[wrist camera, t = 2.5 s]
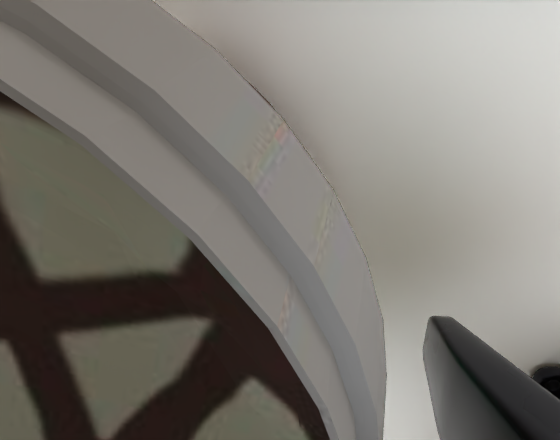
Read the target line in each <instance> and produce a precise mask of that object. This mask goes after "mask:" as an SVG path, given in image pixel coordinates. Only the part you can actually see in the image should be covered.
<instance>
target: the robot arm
mask: <svg viewBox="0 0 560 440" xmlns="http://www.w3.org/2000/svg"><path fill="white" fill-rule="evenodd" d="M423 360H424V365H425V370H426V375H427V380H428V385H429V390H430V395H431V400H432V405H433V410H434V415H435V420H436V425H437V429H438V433H439V437H440V440H560V367H544V368H542V369H539V370H538V371H537V372H535V374H534V376H533V378H530V377H529V376H528V375H526V374H525V373H524V372H523V371H521V370H520V369H519V368H517V367H516V366H515V365H513V364H512V363H511V362H509V361H508V360H507V359H506V358H504V357H503V356H502V355H500V354H499V353H498V352H496V351H495V350H494V349H493V348H491V347H490V346H489V345H487V344H486V343H485V342H483V341H482V340H481V339H479V338H478V337H477V336H476V335H474V334H473V333H472V332H470V331H469V330H468V329H466V328H465V327H464V326H462V325H461V324H460V323H459V322H457V321H456V320H455V319H453V318H452V317H446V316H432V317H430V318H429V320H428V324H427V329H426V334H425V340H424V345H423Z"/></svg>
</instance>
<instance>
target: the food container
mask: <svg viewBox="0 0 560 440" xmlns="http://www.w3.org/2000/svg"><path fill="white" fill-rule="evenodd" d="M386 378H387V373H386V358H385V342H384V327H383V318H382V314H381V311H380V307H379V303H378V300H377V296H376V292H375V289H374V285H373V281H372V277H371V274H370V270H369V266H368V263H367V259H366V257H365V254H364V252H363V250H362V248H361V246H360V244H359V242H358V240H357V238H356V236H355V234H354V232H353V229H352V227H351V225H350V223H349V221H348V219H347V217H346V215H345V213H344V211H343V209H342V207H341V205H340V202H339V200H338V198H337V196H336V194H335V192H334V190H333V189H332V187H331V186H330V184H329V183H328V182H327V180H326V179H325V177H324V176H323V175H322V173H321V172H320V170H319V169H318V167H317V166H316V165H315V163H314V162H313V160H312V159H311V158H310V156H309V155H308V153H307V152H306V150H305V149H304V148H303V146H302V145H301V143H300V142H299V141H298V139H297V138H296V136H295V135H294V133H293V132H292V131H291V129H290V128H289V126H288V125H287V124H286V122H285V121H284V119H283V118H282V117H281V116H280V115H279V114H278V113H277V112H276V111H275V110H274V108H273V107H272V106H271V104H270V103H269V102H268V101H267V100H266V99H265V98H264V97H263V96H262V95H261V94H260V93H259V92H258V91H257V90H256V89H255V88H254V87H253V86H252V85H251V84H250V83H248V82H247V81H246V80H245V79H244V78H243V77H242V76H241V75H240V74H239V73H238V72H237V71H236V70H235V69H234V68H233V67H232V66H231V65H230V64H229V63H228V62H227V61H226V60H225V59H224V57H223V56H222V55H221V54H220V53H219V52H218V51H217V50H216V49H215V48H213V47H212V46H211V45H209V44H208V43H207V42H205V41H204V40H203V39H202V38H200V37H199V36H198V35H196V34H195V33H194V32H192V31H191V30H190V29H188V28H187V27H186V26H185V25H183V24H182V23H181V22H179V21H178V20H177V19H175V18H174V17H173V16H171V15H170V14H169V13H168V12H166V11H165V10H164V9H162V8H161V7H160V6H158V5H157V4H156V3H154V2H153V1H152V0H0V440H383V428H384V412H385V395H386Z"/></svg>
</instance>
